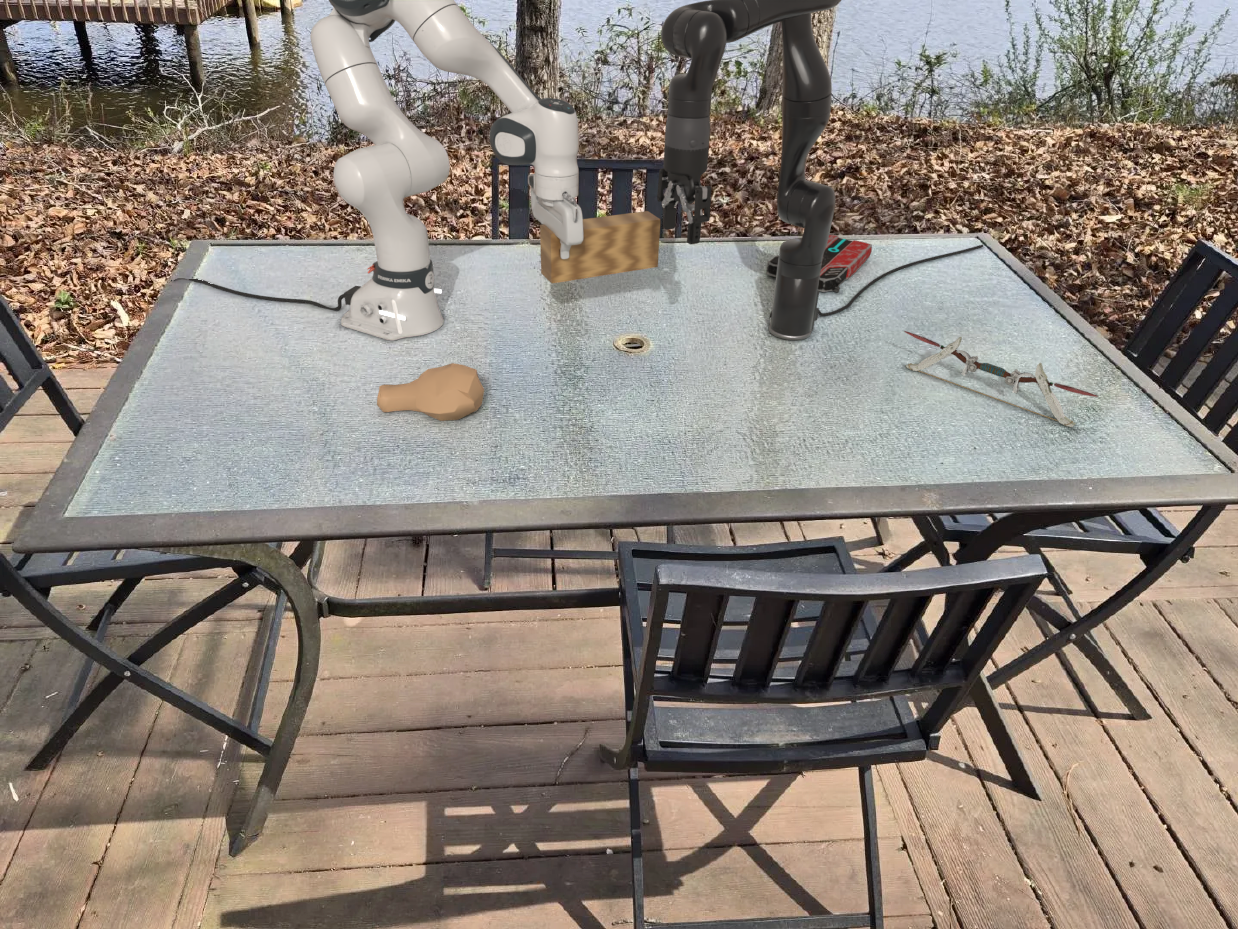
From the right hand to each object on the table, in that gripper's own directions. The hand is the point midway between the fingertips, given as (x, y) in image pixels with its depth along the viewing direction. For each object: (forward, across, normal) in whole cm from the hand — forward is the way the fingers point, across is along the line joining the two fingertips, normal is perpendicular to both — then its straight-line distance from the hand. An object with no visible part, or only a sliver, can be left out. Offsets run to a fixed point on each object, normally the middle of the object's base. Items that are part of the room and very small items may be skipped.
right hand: (680, 235), depth 157 cm
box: (+18, +33, 0) cm, 38 cm away
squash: (+31, +10, +46) cm, 56 cm away
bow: (+31, -29, -56) cm, 70 cm away
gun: (+31, +40, -68) cm, 84 cm away
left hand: (+13, +34, +10) cm, 37 cm away
